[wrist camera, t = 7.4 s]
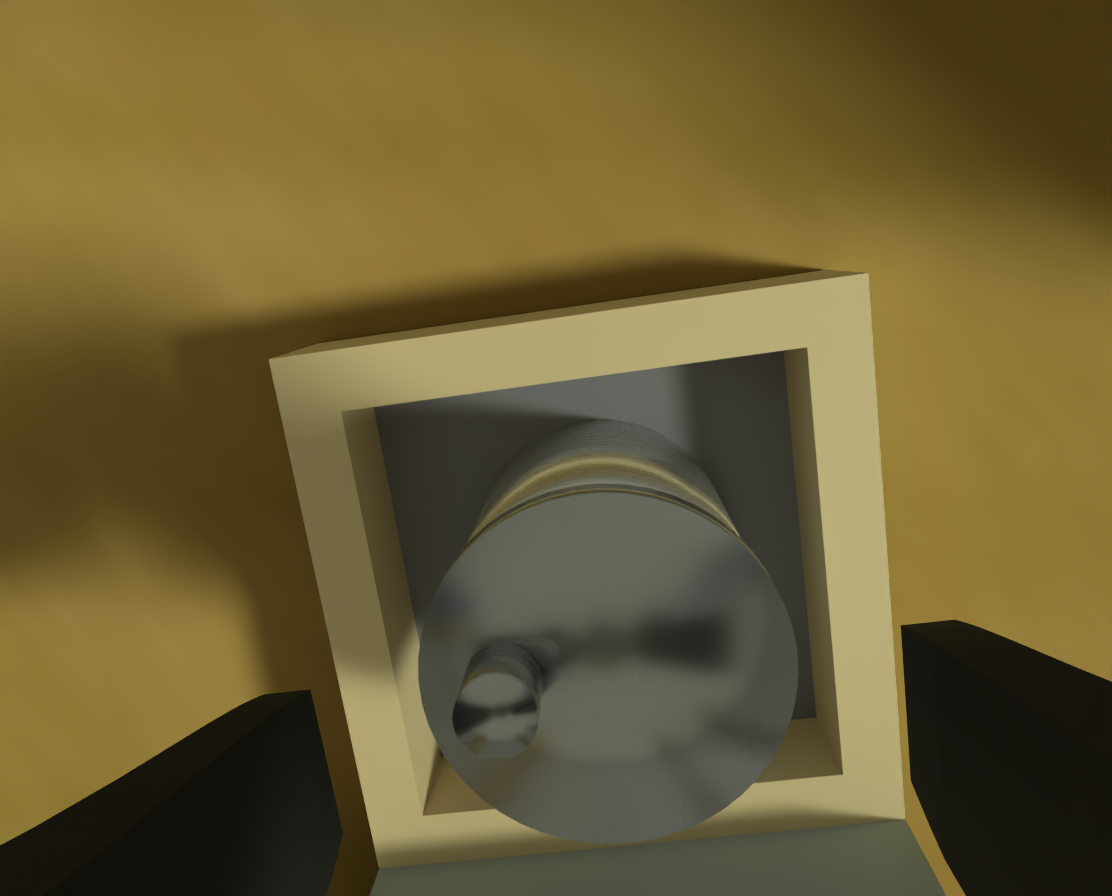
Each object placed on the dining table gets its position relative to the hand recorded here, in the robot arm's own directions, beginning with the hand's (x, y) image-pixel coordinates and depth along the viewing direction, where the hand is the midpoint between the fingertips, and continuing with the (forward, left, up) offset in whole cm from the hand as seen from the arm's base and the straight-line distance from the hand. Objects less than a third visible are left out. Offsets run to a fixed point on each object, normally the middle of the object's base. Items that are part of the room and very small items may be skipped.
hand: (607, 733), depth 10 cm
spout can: (0, 0, -6) cm, 6 cm away
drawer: (+2, +3, -7) cm, 7 cm away
